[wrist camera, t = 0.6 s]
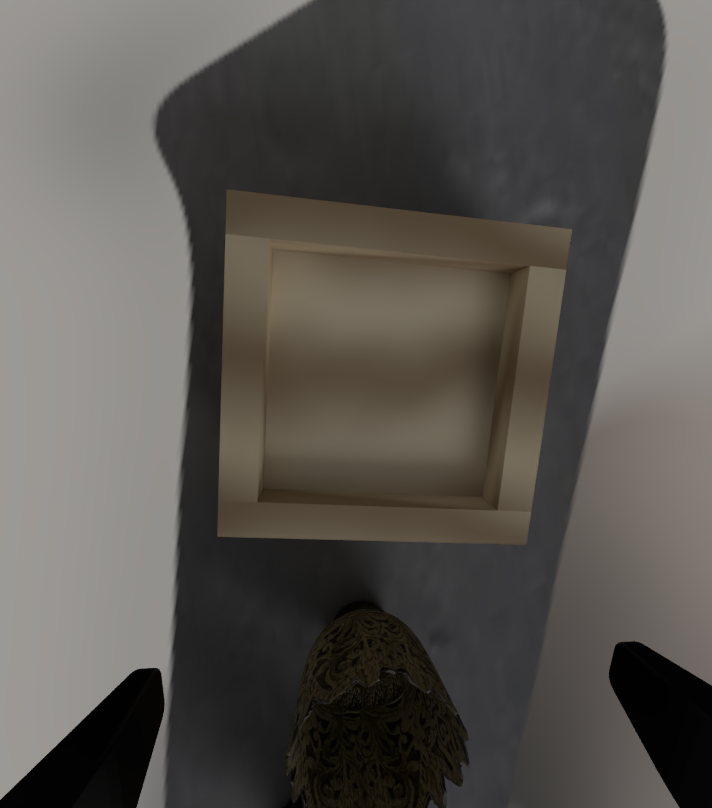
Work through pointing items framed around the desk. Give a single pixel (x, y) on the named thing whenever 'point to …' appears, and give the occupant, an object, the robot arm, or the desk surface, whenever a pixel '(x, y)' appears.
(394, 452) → the wooden box
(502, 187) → the desk surface
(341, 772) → the cup
